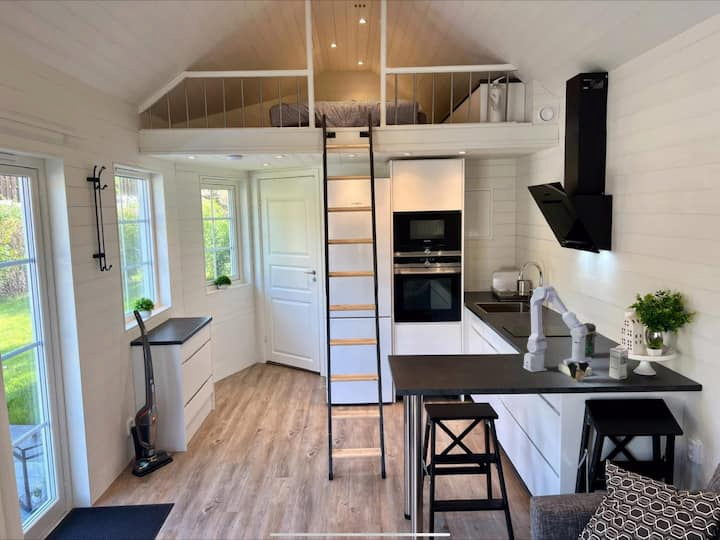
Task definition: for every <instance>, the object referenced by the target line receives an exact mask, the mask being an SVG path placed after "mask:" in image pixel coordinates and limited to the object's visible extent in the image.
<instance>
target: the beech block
mask: <svg viewBox="0 0 720 540" xmlns="http://www.w3.org/2000/svg"><path fill="white" fill-rule="evenodd" d="M584 377H585V376H584V371H582V370H580V369H576V376H575V378H572V377H571V376H570V380H571V381H573V382H575V381H576V383H578V382H579V381H580V382H584Z"/></svg>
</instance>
